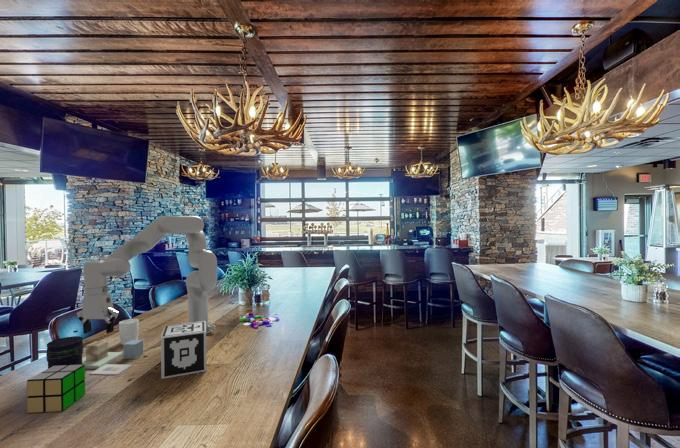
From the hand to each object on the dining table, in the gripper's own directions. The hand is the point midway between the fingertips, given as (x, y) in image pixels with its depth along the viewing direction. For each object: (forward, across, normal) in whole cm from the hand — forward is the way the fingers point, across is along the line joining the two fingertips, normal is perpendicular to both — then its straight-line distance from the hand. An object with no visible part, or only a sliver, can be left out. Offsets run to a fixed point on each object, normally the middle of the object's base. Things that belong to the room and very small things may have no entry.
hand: (98, 332), depth 132 cm
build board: (+12, +1, +1) cm, 12 cm away
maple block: (+10, +1, +1) cm, 10 cm away
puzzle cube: (+11, -12, +31) cm, 35 cm away
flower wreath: (+15, -49, -55) cm, 75 cm away
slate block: (+12, -11, -5) cm, 17 cm away
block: (+13, -38, +4) cm, 41 cm away
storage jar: (+11, -3, +19) cm, 22 cm away
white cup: (+12, +3, -20) cm, 24 cm away
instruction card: (+12, -11, +8) cm, 18 cm away
